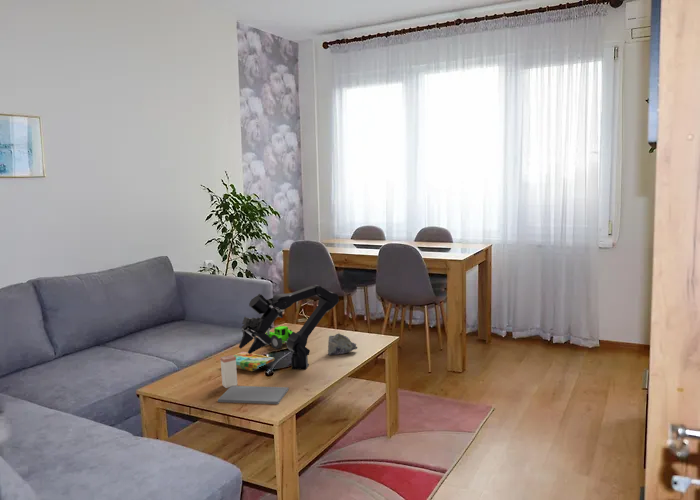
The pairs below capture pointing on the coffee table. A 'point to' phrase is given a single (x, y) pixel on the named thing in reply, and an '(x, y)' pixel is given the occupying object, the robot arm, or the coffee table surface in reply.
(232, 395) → the mat
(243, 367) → the puzzle game
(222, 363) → the card box
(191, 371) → the coffee table surface
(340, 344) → the mineral rock
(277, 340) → the toy tractor
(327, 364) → the coffee table surface
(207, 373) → the coffee table surface
